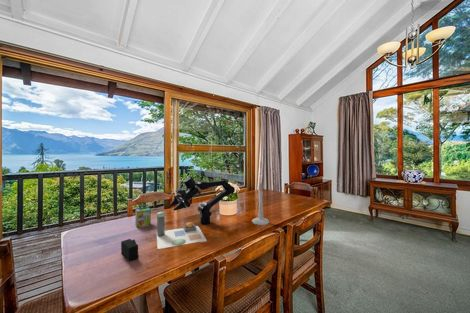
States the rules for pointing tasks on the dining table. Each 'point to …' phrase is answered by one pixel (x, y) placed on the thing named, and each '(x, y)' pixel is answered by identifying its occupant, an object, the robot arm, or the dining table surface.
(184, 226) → the button housing
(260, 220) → the candlestick
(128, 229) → the dining table surface
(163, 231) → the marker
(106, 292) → the dining table surface
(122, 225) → the dining table surface
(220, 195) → the robot arm
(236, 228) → the dining table surface
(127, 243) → the digital camera
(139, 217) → the chalk box
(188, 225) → the button
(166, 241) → the colouring board
